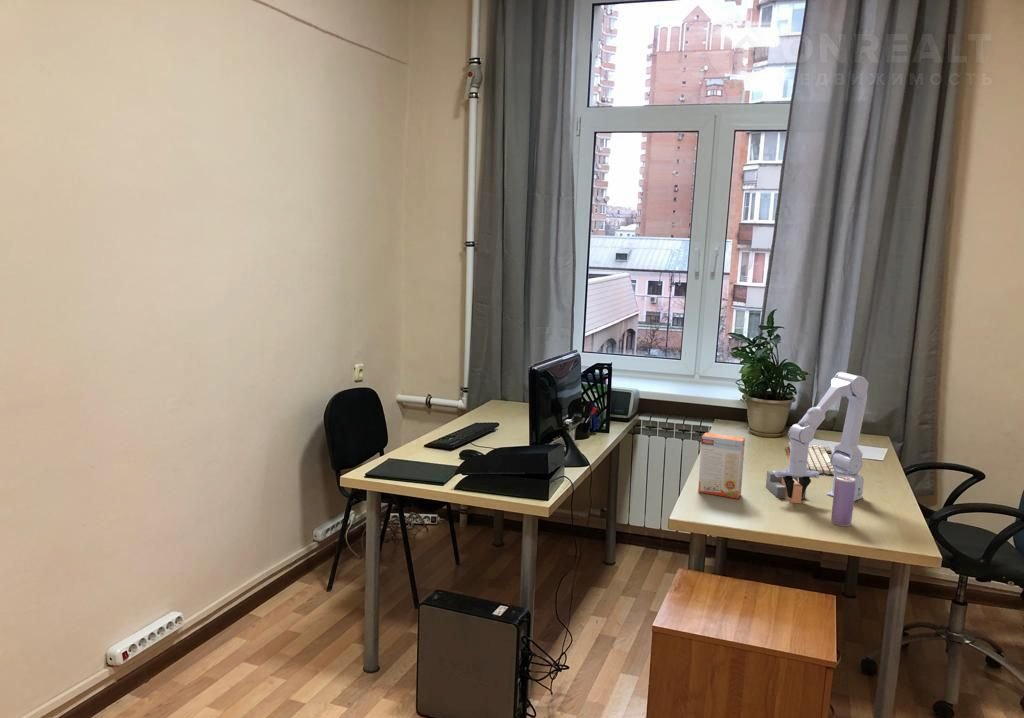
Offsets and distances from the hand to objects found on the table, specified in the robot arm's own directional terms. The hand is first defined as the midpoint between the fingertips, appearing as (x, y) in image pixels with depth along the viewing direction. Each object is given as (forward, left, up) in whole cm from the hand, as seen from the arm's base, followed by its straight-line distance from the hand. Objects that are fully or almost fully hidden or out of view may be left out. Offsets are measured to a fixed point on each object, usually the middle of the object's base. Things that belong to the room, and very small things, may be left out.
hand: (794, 497), depth 258 cm
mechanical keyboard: (+20, -51, -2) cm, 54 cm away
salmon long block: (+3, -2, -1) cm, 4 cm away
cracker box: (+20, +15, -2) cm, 25 cm away
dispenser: (+6, -5, -1) cm, 8 cm away
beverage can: (-20, +7, -2) cm, 21 cm away
